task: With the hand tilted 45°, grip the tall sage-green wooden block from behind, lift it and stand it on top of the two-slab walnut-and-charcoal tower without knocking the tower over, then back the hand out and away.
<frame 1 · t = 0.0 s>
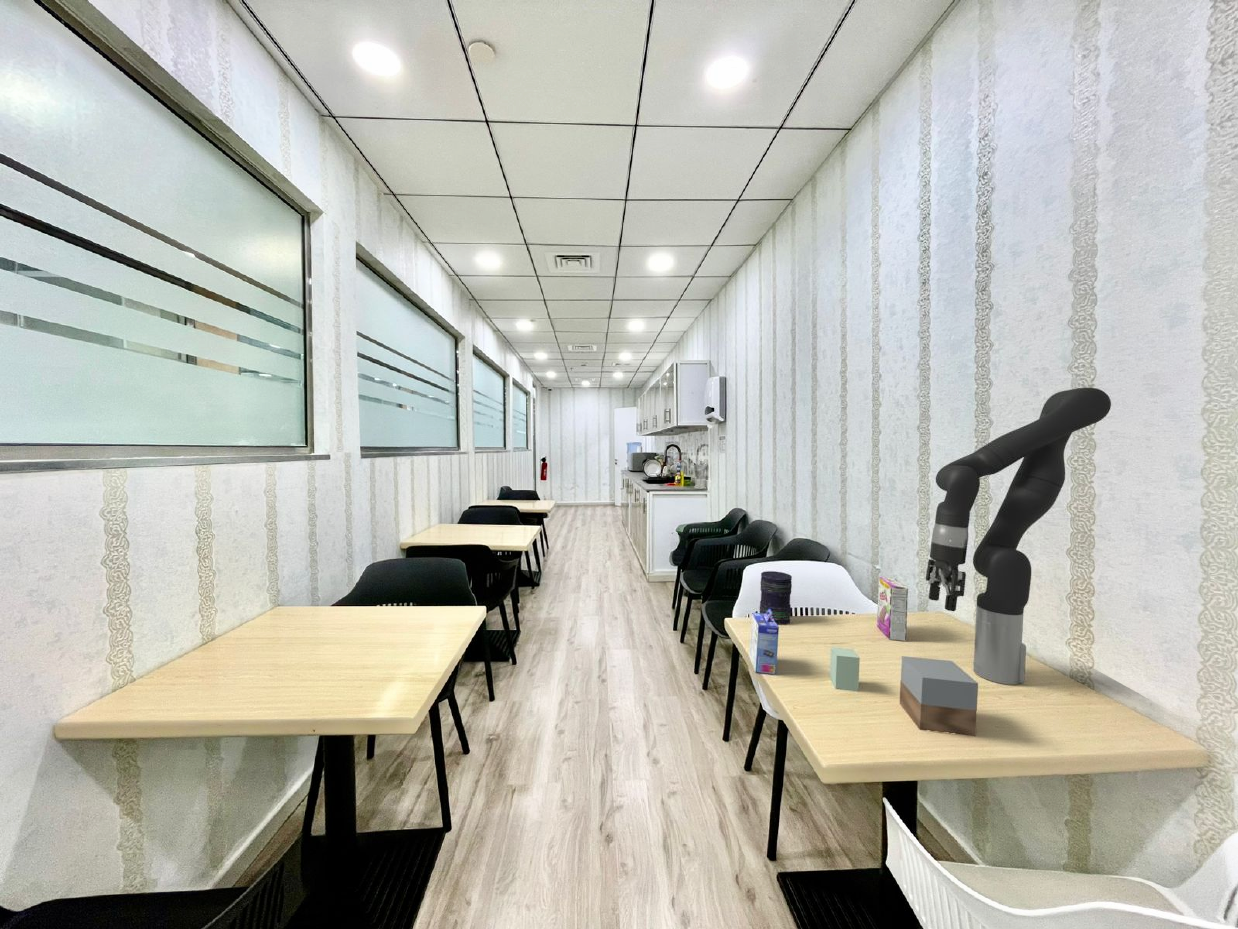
hand: (941, 605, 120), 17 cm above the table, tool pointing down, fingers open, 8 cm apart
tower top: (936, 694, 98), point 5 cm above the table, touching tower base
storage jar: (774, 620, 155), on the table
tower base: (935, 720, 98), on the table, touching tower top
candy bar box: (890, 634, 145), on the table
sage block: (843, 685, 112), on the table
ink cartridge box: (762, 666, 121), on the table
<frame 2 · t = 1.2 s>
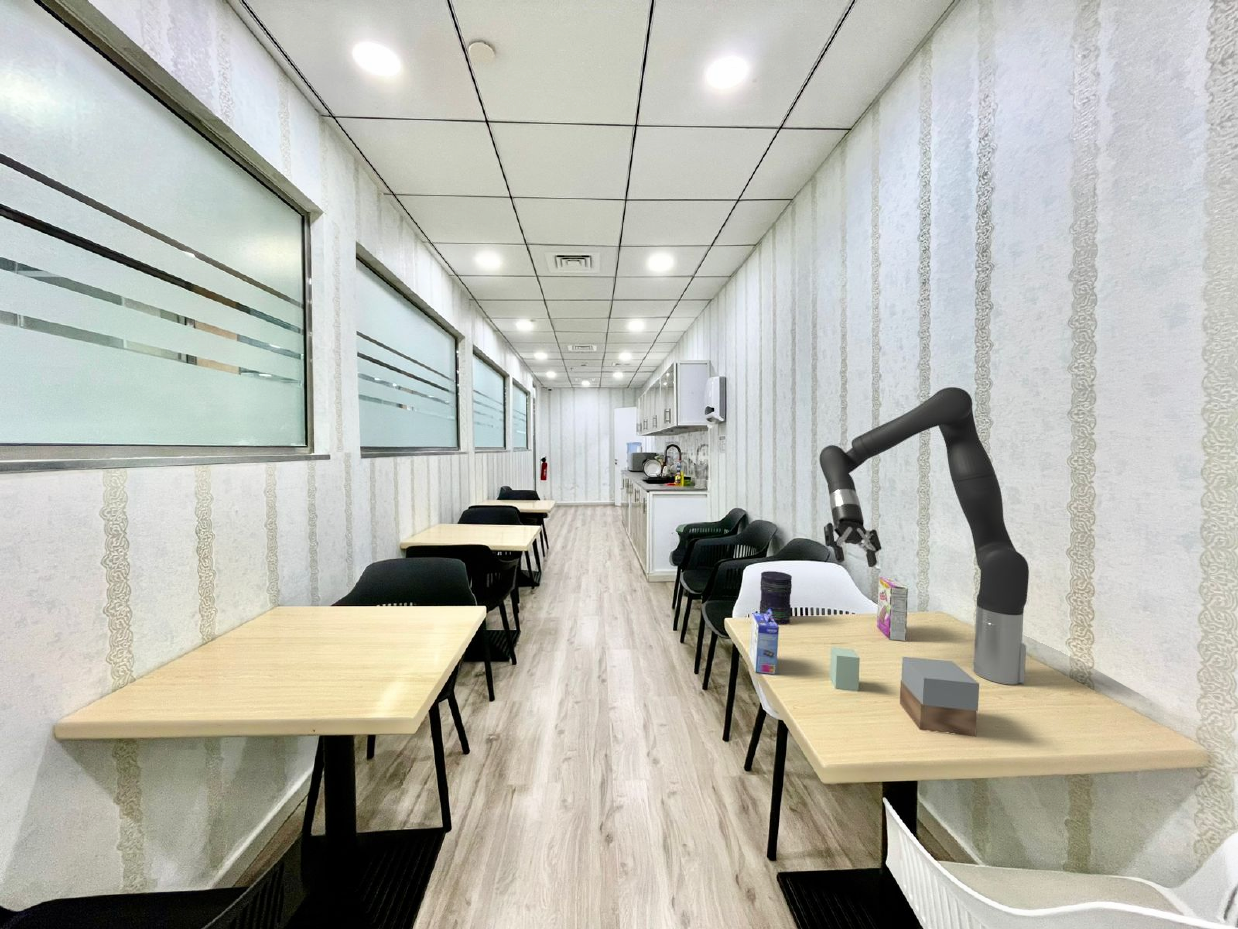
hand: (856, 563, 121), 27 cm above the table, tool tilted 35°, fingers open, 8 cm apart
nothing on the table moved.
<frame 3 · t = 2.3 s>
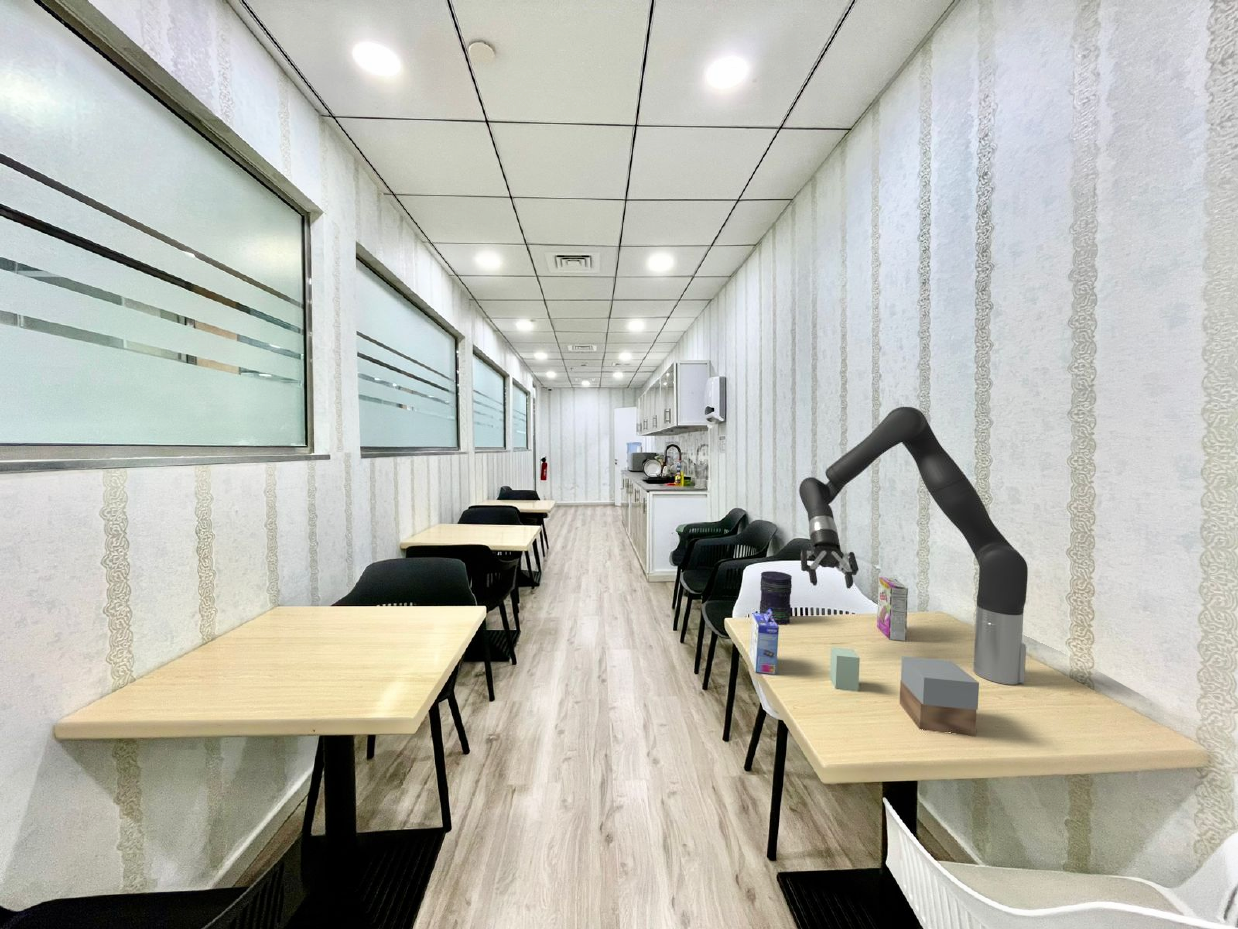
hand: (832, 585, 124), 20 cm above the table, tool tilted 45°, fingers open, 8 cm apart
nothing on the table moved.
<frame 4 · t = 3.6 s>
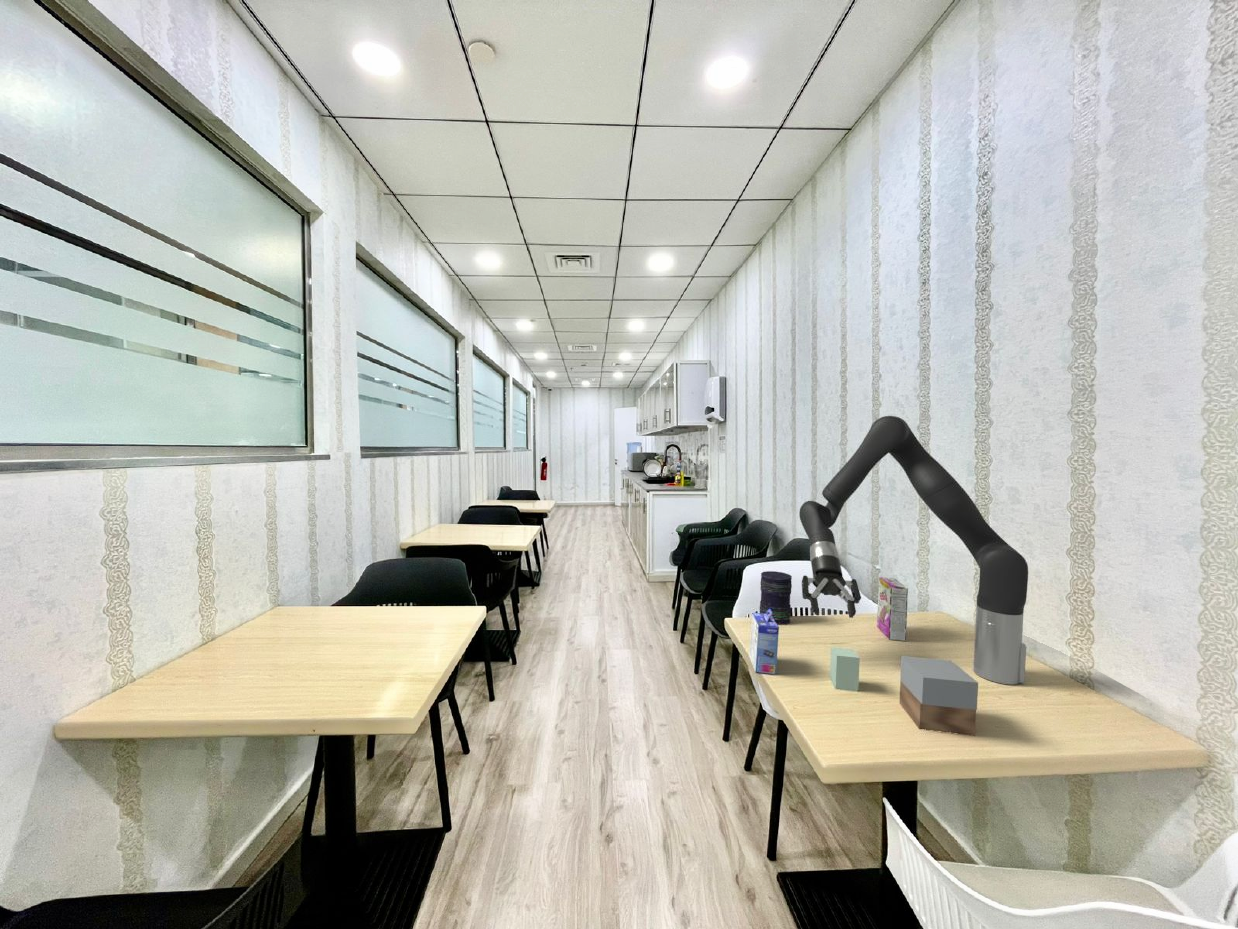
hand: (834, 615, 121), 13 cm above the table, tool tilted 45°, fingers open, 8 cm apart
nothing on the table moved.
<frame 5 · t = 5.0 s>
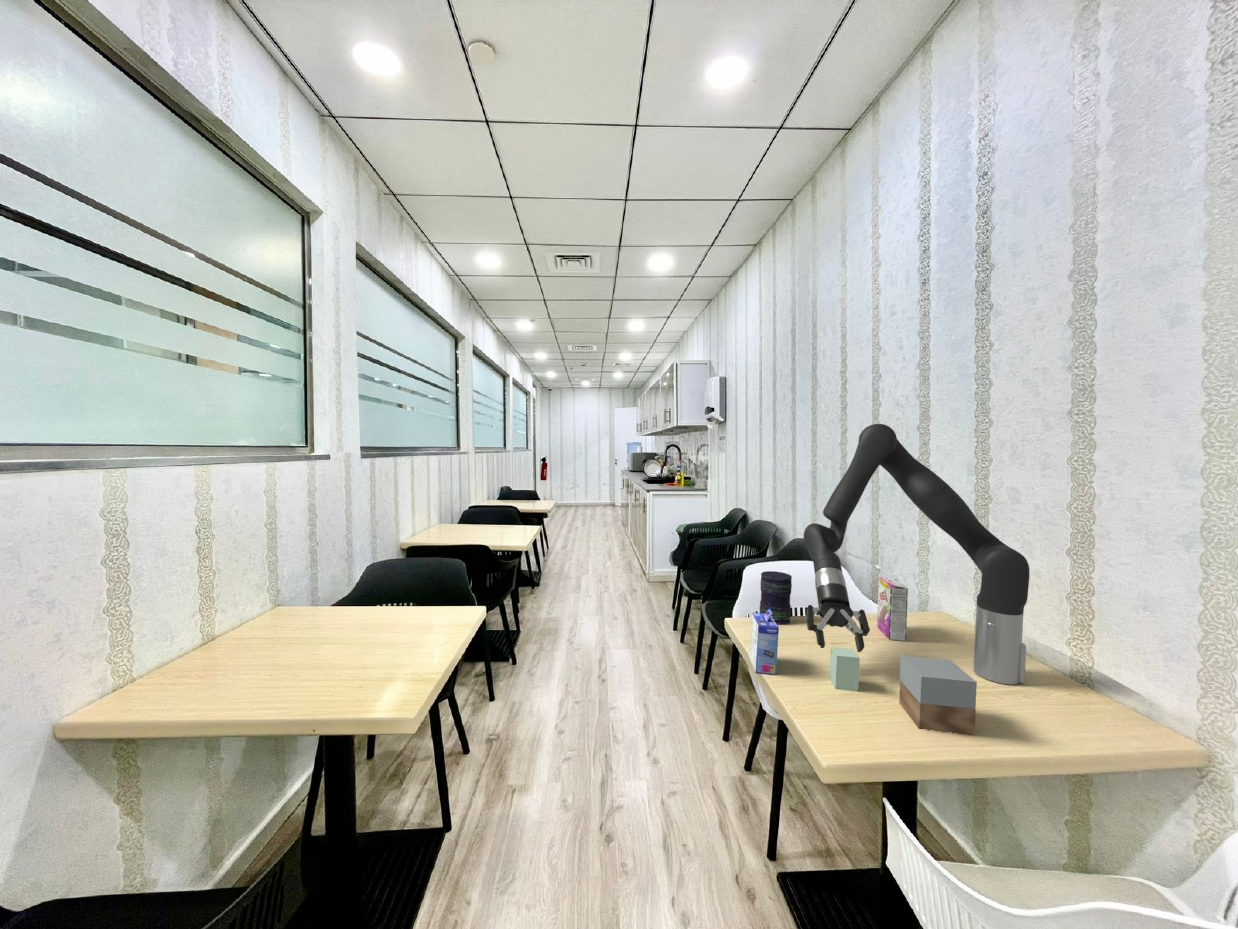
hand: (841, 648, 114), 8 cm above the table, tool tilted 45°, fingers open, 8 cm apart
nothing on the table moved.
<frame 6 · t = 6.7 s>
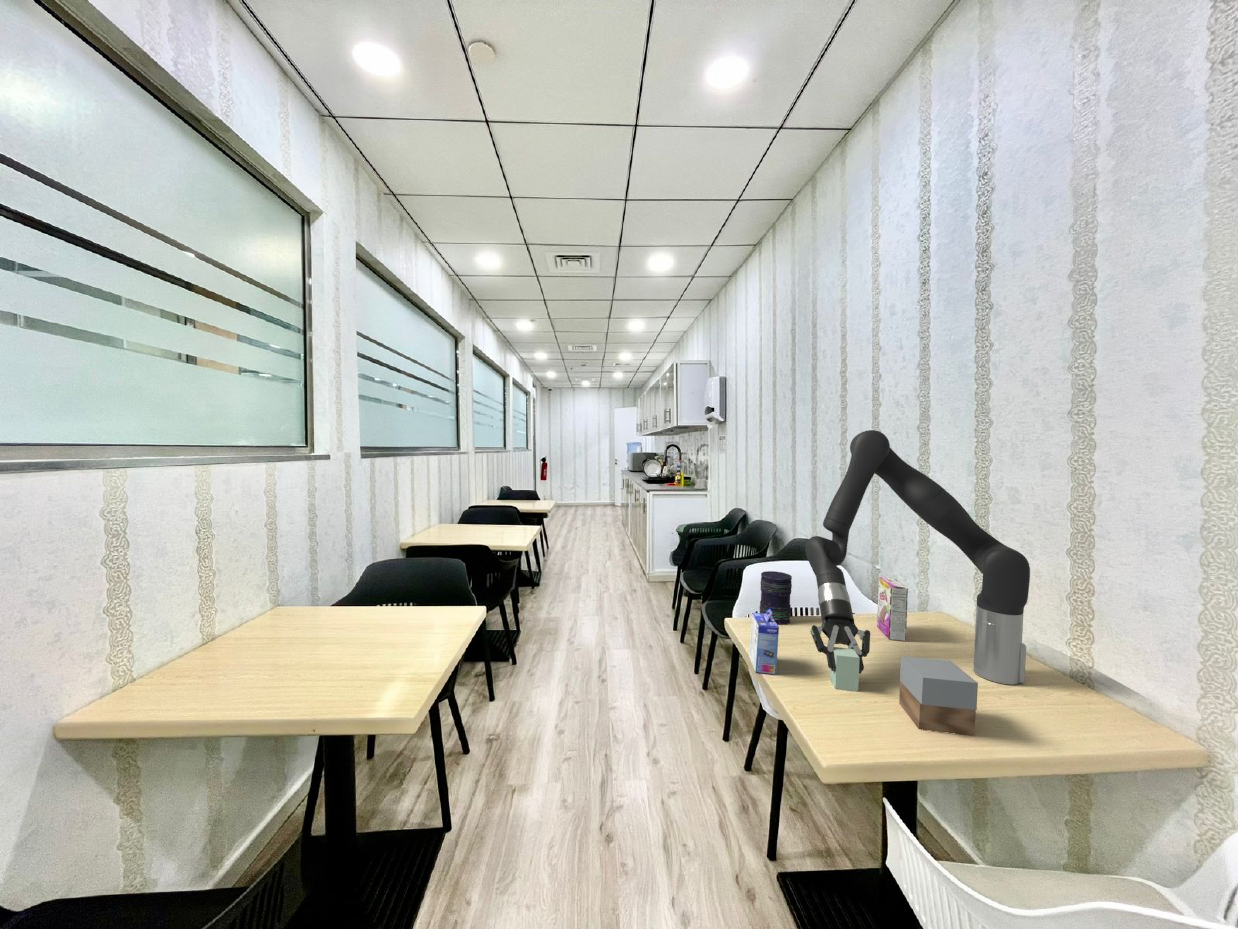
hand: (846, 671, 110), 4 cm above the table, tool tilted 45°, fingers closed on sage block, 5 cm apart
tower top: (936, 694, 98), point 5 cm above the table
tower base: (934, 720, 98), on the table
sage block: (843, 684, 112), on the table, touching gripper
everything else where it was.
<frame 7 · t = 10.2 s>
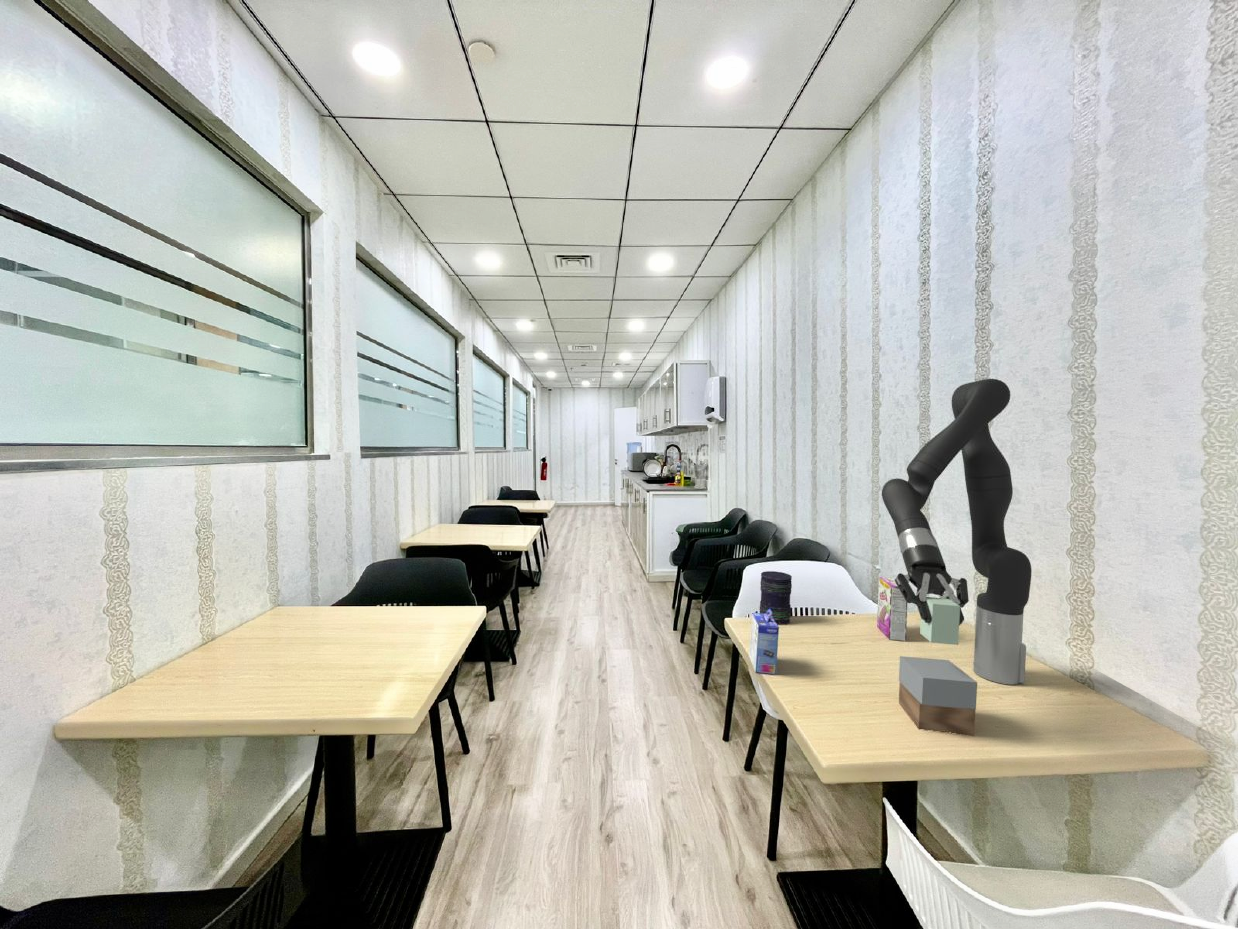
hand: (944, 622, 96), 21 cm above the table, tool tilted 45°, fingers closed on sage block, 5 cm apart
tower top: (935, 694, 98), point 5 cm above the table, touching tower base
tower base: (934, 719, 98), on the table, touching tower top
sage block: (938, 638, 98), point 17 cm above the table, touching gripper
everything else where it was.
when the fingers open (16 cm above the table, at t = 11.7 s): sage block drops 1 cm, resting on tower top.
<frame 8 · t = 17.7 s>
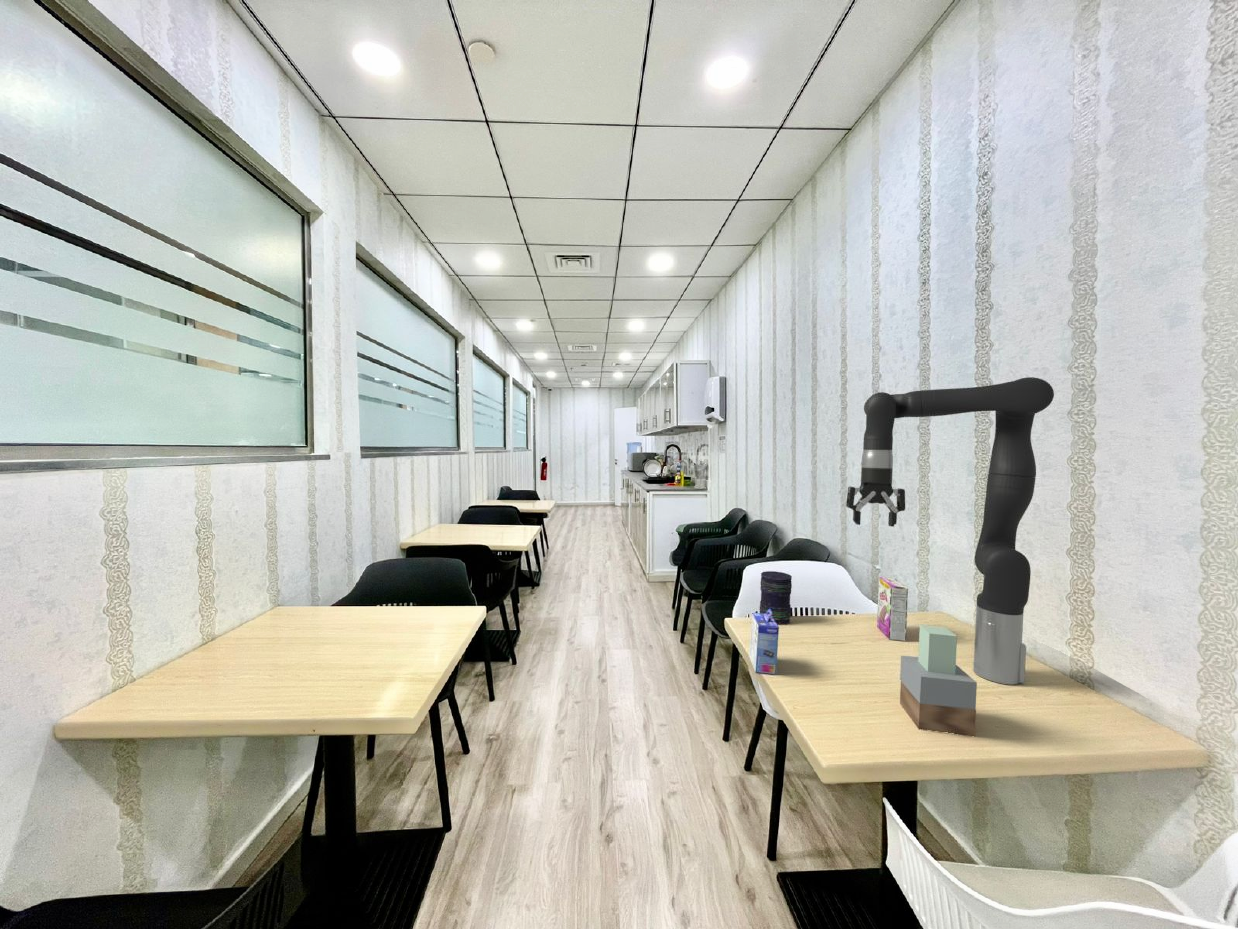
hand: (874, 525, 128), 36 cm above the table, tool pointing down, fingers open, 8 cm apart
tower top: (935, 694, 98), point 5 cm above the table, touching sage block, tower base
sage block: (936, 667, 98), point 11 cm above the table, touching tower top
everything else where it was.
at the end: sage block 0.2 cm off-centre on the tower top, point 5.5 cm above the tower top's base; tower top 0.1 cm off-centre on the tower base, point 5.5 cm above the tower base's base; sage block tilted 0° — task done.
